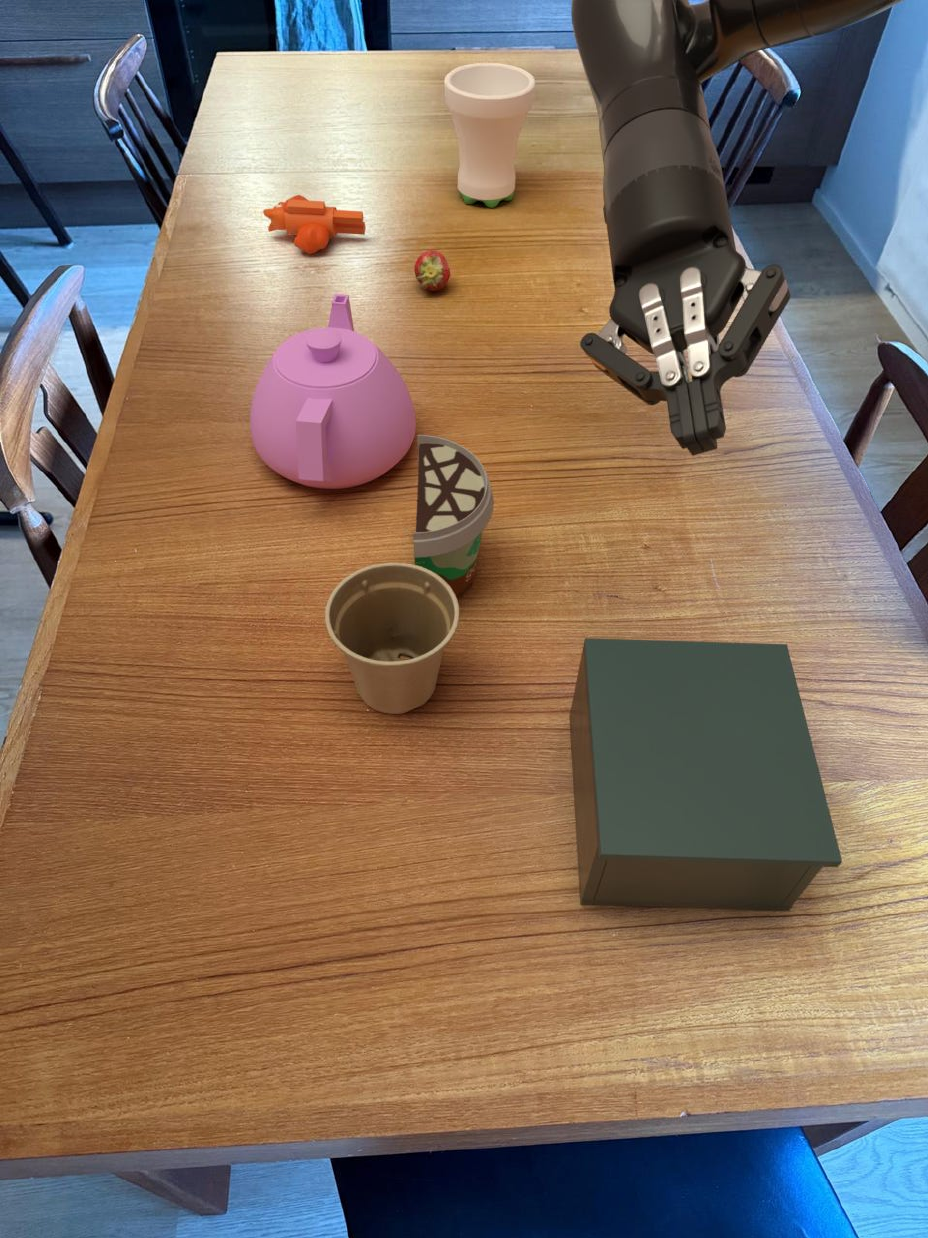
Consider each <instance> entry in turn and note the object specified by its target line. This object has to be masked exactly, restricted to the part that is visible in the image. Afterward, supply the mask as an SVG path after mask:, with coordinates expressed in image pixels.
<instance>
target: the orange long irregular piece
mask: <svg viewBox="0 0 928 1238" xmlns="http://www.w3.org/2000/svg"><path fill="white" fill-rule="evenodd" d="M262 214H263V215H264V216H265V217H266V218H268V219H269V220H270V223H269V224H268V229H267V231H268V232H274V231H285V232H286V234H287V235H291V236H295V238H294V240H293V245H294V247H296V248H297V249H300V251H304V252H305V253H307V254H309V255H312V254H315V253H316V252H317V251H319V250H324V249H325V248H327V245H328V244H329V241H331V238H337V236H338V234H344V235H345V234H347V235H360V236H361V235H363V236H365V234H366V221H364V211H361V210H360V211H359V210H347V209H345V210H344V209H338V208H337V207H336V206H326V203H325V201H324V200H323V201H322V200H309V199H307V198H306V197H305V196H303V195H301V194H296V195H294V196H292V197H290V198H287V199H286V200H285V202H284V201H279V202H278V203H277V204H276V205H275V206H273V207H272V208H265V209H263V212H262Z"/></svg>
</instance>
